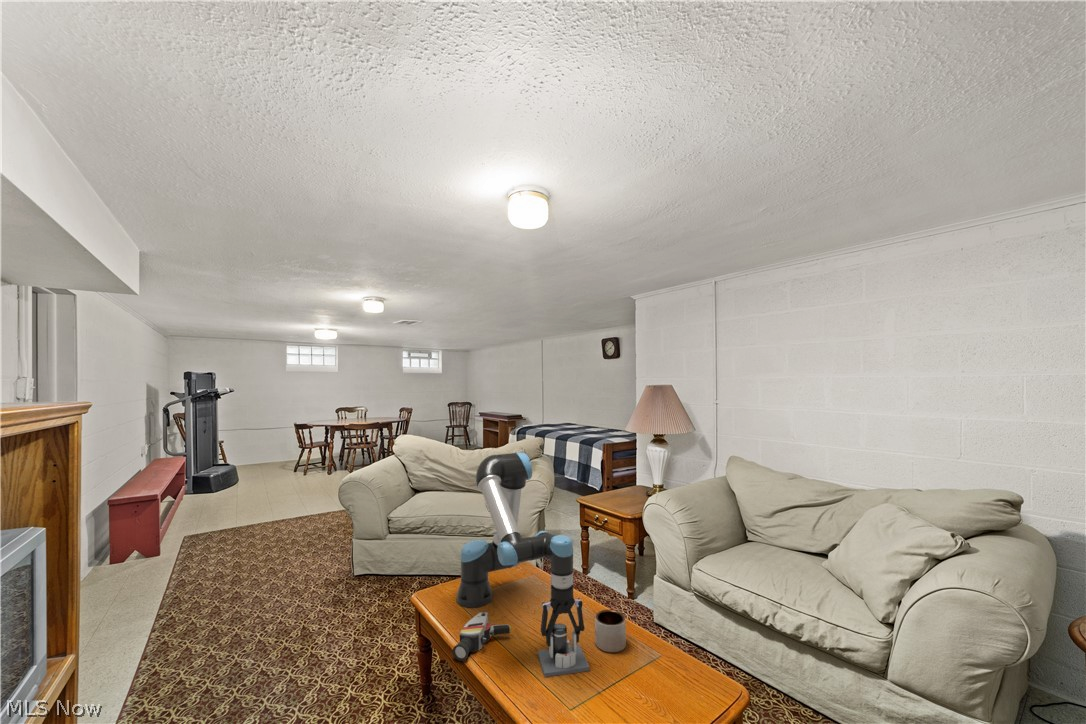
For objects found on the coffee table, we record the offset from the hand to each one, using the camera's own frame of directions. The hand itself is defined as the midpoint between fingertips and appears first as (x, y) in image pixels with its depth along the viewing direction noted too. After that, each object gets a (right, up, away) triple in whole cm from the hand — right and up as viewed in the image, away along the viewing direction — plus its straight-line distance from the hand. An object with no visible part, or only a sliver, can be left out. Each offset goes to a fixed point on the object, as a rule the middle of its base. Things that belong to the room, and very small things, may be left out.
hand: (562, 653), depth 150 cm
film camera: (-28, -4, +9) cm, 29 cm away
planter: (+17, -3, +10) cm, 20 cm away
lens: (-1, -1, 0) cm, 1 cm away
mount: (0, -3, 0) cm, 3 cm away
